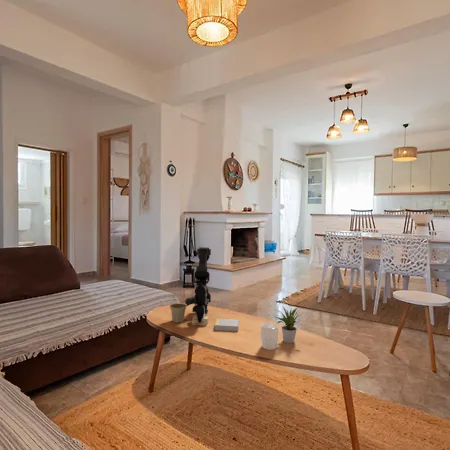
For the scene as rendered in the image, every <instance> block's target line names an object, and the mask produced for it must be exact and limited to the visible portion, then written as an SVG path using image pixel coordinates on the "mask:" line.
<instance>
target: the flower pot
mask: <svg viewBox="0 0 450 450" xmlns="http://www.w3.org/2000/svg"><path fill="white" fill-rule="evenodd" d="M169 307H170V311H171V313H170V314H171V319H172V322H173V323H176V324H177V323H182V322H184V319H185V313H186V309H187V307H188V306H187V305H186V304H185V303H173V304H169Z"/></svg>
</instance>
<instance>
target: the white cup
mask: <svg viewBox="0 0 450 450" xmlns="http://www.w3.org/2000/svg"><path fill="white" fill-rule="evenodd" d="M260 331H261V333H260V334H261V338H260V339H261V348H263V349H265V350H267V351H269V350H270V351H273V350H276V349H277V348H278V340H279V339H278V338H279V336H278V335H279V324H278V323H275V322H262V323H261V325H260Z"/></svg>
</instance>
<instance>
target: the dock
mask: <svg viewBox="0 0 450 450" xmlns="http://www.w3.org/2000/svg"><path fill="white" fill-rule="evenodd" d="M239 325H240V319H234V318H231V319H230V318H216V322H215V323H214V330H215V331H225V332H226V331H227V332H228V331H229V332H238V331H239Z"/></svg>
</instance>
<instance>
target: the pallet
mask: <svg viewBox="0 0 450 450" xmlns="http://www.w3.org/2000/svg"><path fill="white" fill-rule="evenodd" d="M196 316H197V314H194V315H193V316H192V319H191V320H192V324H191V325H192V326H208V324H209V315H205V317H204V318H202V320H201V322H200V323H199V322H198V318H196Z"/></svg>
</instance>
